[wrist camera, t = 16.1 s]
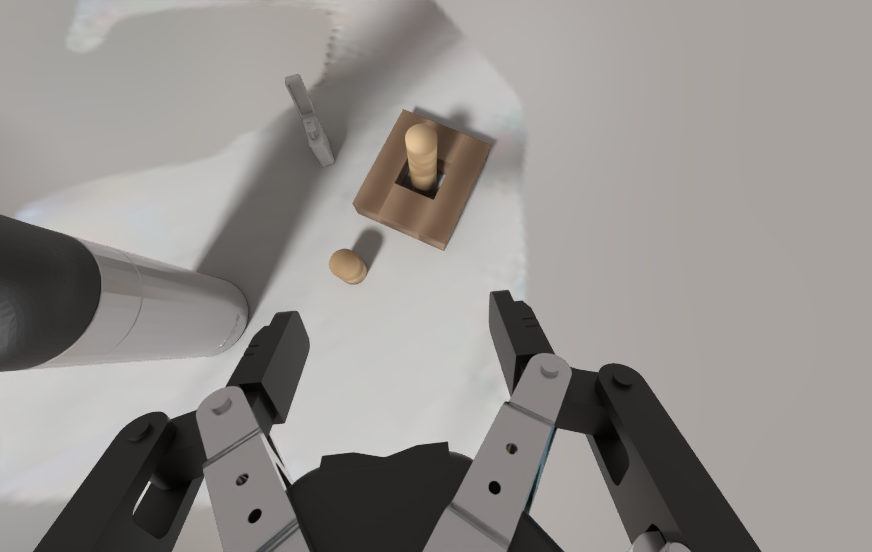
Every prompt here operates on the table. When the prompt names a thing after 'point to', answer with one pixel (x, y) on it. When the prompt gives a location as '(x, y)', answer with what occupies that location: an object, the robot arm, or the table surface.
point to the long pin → (422, 158)
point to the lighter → (310, 120)
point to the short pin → (348, 266)
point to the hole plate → (410, 209)
